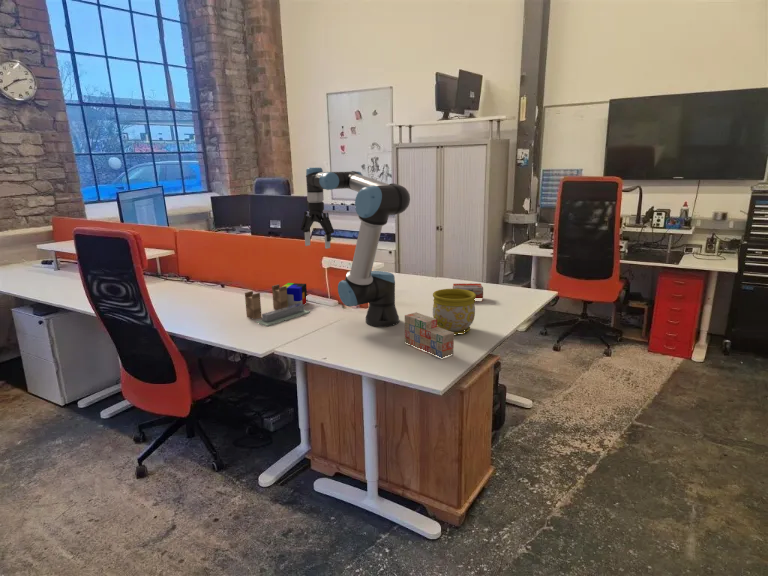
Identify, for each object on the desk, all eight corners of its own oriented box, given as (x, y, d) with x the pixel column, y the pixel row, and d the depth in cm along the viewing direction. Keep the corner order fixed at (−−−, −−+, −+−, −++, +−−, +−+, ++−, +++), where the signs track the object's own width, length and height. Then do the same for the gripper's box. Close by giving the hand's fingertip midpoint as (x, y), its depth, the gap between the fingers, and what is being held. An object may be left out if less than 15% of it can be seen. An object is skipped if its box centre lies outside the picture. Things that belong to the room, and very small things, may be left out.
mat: (310, 312, 240) (310, 311, 240) (267, 326, 220) (267, 324, 220) (299, 309, 245) (299, 308, 244) (255, 322, 225) (255, 321, 225)
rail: (299, 310, 242) (298, 303, 241) (303, 311, 239) (303, 304, 239) (262, 321, 225) (262, 314, 224) (267, 322, 223) (266, 315, 222)
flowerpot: (465, 340, 200) (467, 301, 196) (425, 333, 209) (425, 296, 205) (480, 327, 215) (481, 291, 211) (442, 321, 224) (442, 286, 220)
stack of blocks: (453, 356, 185) (454, 324, 182) (441, 360, 181) (442, 328, 178) (416, 340, 201) (416, 311, 198) (404, 344, 197) (404, 314, 194)
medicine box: (453, 302, 256) (453, 287, 254) (452, 297, 263) (452, 283, 261) (483, 302, 255) (483, 287, 253) (480, 297, 263) (481, 283, 261)
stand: (287, 309, 245) (286, 286, 242) (254, 319, 230) (252, 294, 227) (279, 307, 249) (278, 284, 246) (246, 316, 234) (244, 292, 231)
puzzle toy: (300, 307, 248) (299, 288, 246) (281, 306, 250) (280, 287, 248) (307, 302, 258) (306, 283, 255) (289, 301, 260) (288, 283, 257)
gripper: (340, 202, 224) (342, 248, 230) (303, 200, 240) (305, 243, 245) (329, 203, 219) (330, 250, 224) (291, 201, 234) (294, 245, 239)
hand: (317, 246), depth 234 cm, fingers open, 13 cm apart
